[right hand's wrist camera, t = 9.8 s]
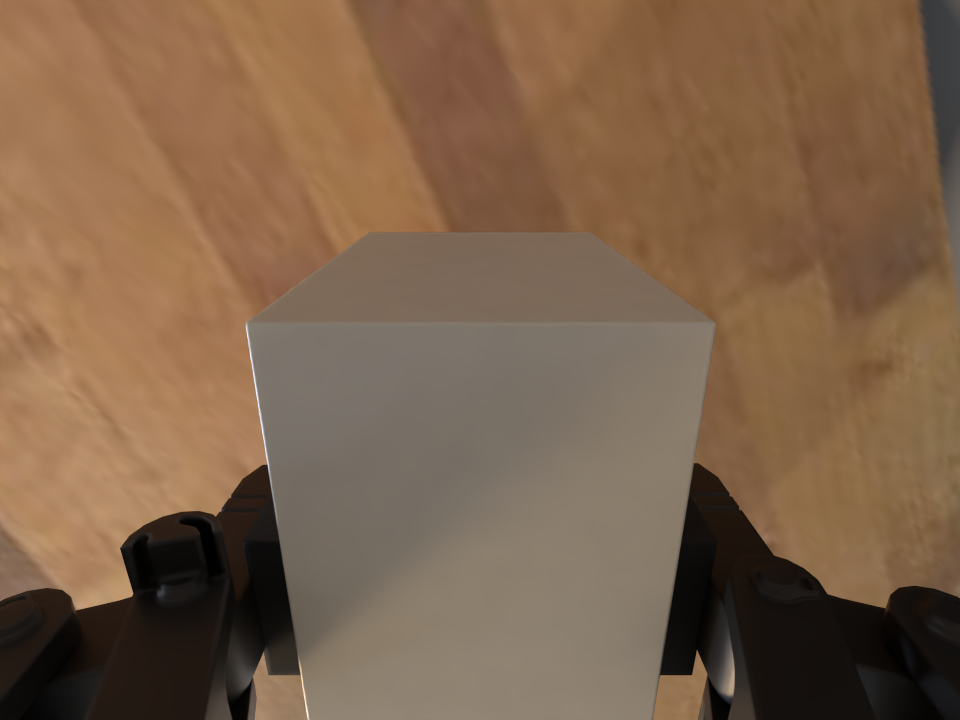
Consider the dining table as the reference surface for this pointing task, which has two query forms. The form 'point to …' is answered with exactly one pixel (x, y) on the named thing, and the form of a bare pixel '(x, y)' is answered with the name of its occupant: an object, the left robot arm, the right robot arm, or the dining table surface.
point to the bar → (480, 474)
